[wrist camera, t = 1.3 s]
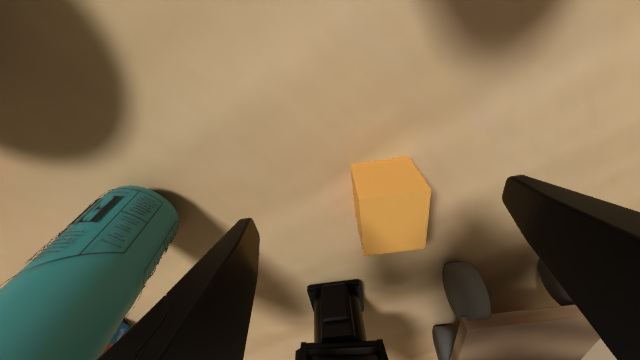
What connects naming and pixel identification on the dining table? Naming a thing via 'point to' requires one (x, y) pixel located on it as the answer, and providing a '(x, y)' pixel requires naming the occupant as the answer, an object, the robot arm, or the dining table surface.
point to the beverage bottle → (86, 278)
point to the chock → (390, 205)
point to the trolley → (509, 323)
